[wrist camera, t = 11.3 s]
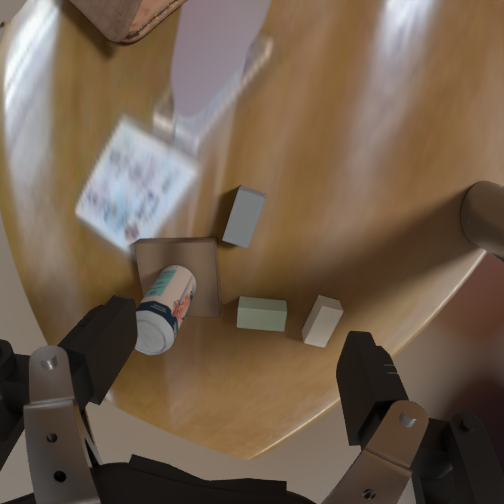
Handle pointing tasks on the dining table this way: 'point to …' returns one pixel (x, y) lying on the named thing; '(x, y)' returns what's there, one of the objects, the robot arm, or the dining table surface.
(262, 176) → the dining table surface
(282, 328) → the sage brick
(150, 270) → the walnut slab
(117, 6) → the case
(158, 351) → the beer can
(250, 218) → the slate brick
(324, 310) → the cream brick
